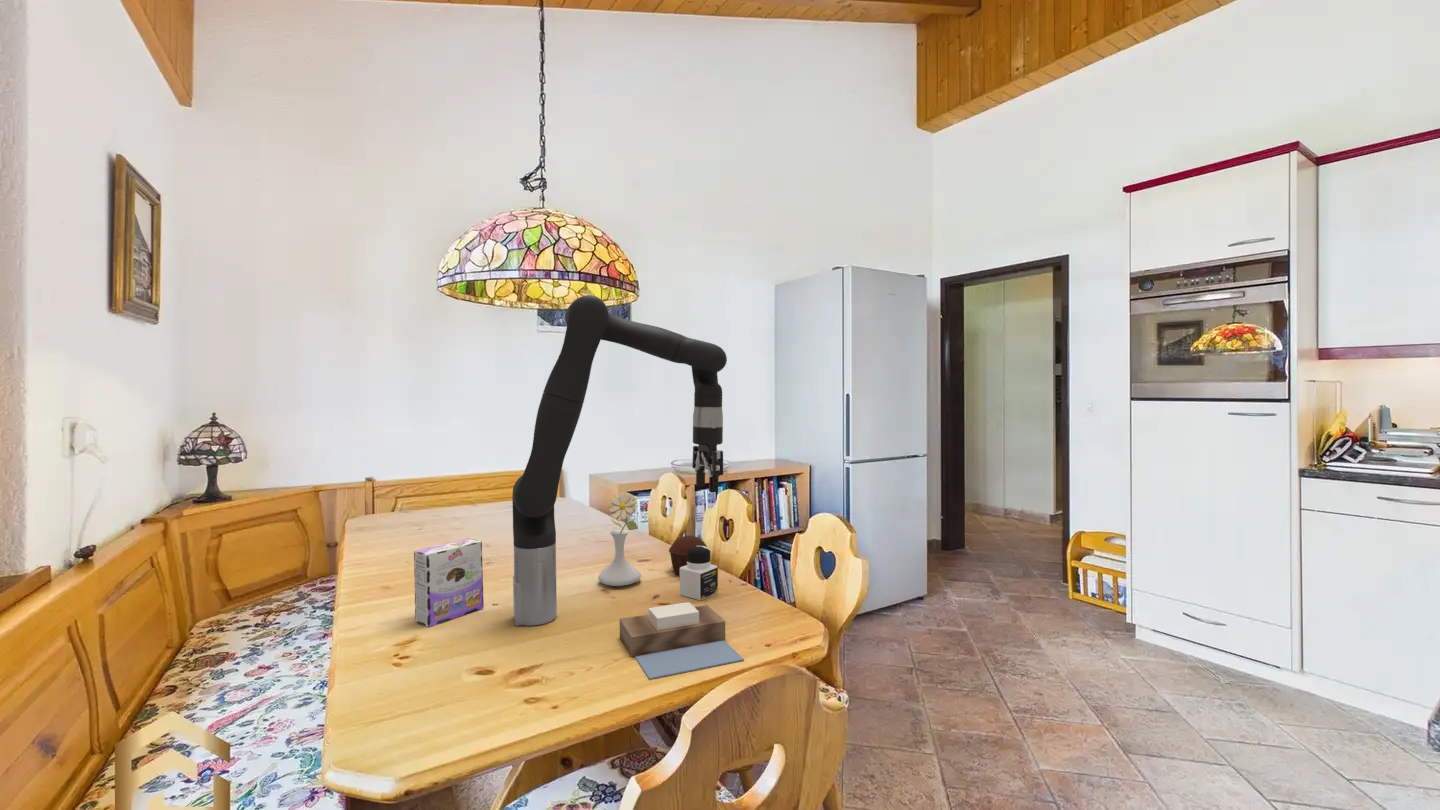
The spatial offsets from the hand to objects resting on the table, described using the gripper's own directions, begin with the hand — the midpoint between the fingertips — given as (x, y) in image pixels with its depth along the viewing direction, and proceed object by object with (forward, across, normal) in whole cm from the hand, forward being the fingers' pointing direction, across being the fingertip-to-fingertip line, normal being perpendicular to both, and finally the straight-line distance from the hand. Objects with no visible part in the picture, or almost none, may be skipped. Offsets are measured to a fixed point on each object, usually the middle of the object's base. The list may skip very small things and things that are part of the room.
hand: (706, 489), depth 152 cm
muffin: (+27, -20, +3) cm, 34 cm away
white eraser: (+23, +22, -16) cm, 36 cm away
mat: (+27, +31, -16) cm, 45 cm away
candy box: (+28, -13, -59) cm, 67 cm away
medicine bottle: (+27, -2, -1) cm, 27 cm away
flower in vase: (+28, -18, -17) cm, 37 cm away
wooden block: (+27, +21, -16) cm, 38 cm away
